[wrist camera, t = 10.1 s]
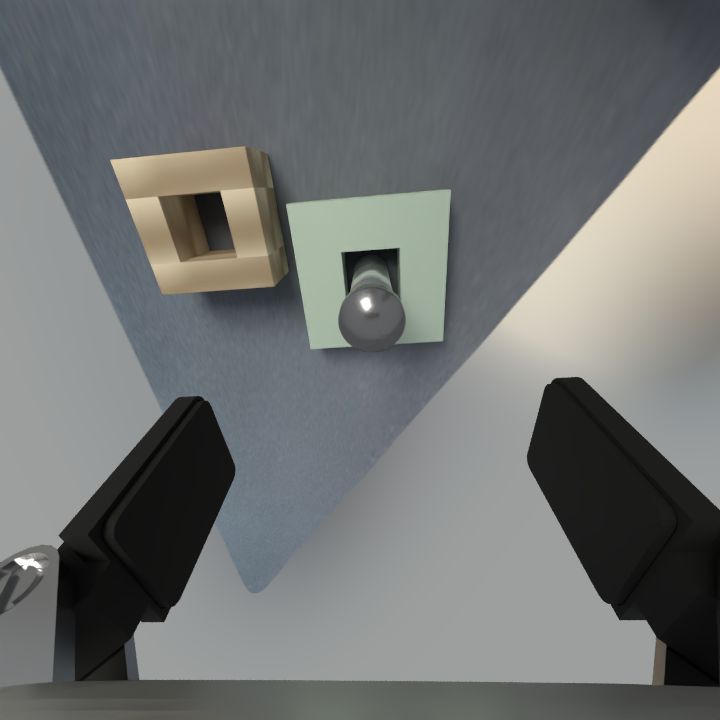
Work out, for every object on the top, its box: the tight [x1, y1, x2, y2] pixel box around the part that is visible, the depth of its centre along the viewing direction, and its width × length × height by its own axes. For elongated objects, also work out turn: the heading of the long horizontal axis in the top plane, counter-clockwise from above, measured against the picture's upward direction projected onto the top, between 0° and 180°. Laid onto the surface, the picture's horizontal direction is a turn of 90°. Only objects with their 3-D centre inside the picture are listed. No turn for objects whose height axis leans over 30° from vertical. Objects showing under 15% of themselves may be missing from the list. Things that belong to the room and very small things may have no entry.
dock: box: [286, 189, 451, 349], centre depth 27 cm, size 12×12×3 cm
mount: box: [110, 146, 289, 295], centre depth 25 cm, size 9×9×5 cm
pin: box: [338, 255, 406, 352], centre depth 23 cm, size 4×4×12 cm
